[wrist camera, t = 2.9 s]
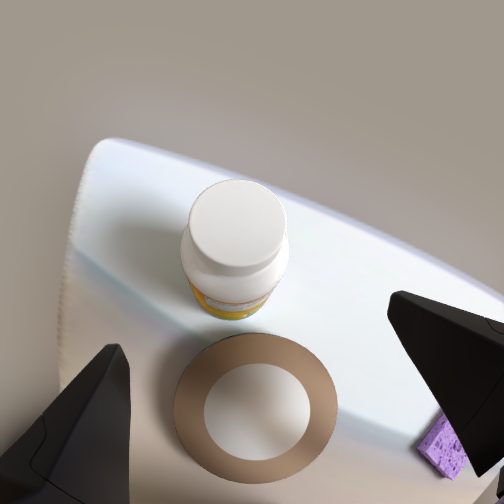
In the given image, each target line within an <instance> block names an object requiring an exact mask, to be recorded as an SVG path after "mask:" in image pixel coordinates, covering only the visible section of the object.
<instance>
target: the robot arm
mask: <svg viewBox="0 0 504 504" xmlns="http://www.w3.org/2000/svg"><path fill="white" fill-rule="evenodd" d="M387 316H388V319H389V321H390V323H391V325H392V326H393V328H394V330H395V332H396V334H397V336H398V338H399V340H400V341H401V343H402V345H403V347H404V349H405V351H406V352H407V354H408V356H409V357H410V359H411V360H412V362H413V363H414V365H415V366H416V368H417V370H418V371H419V373H420V374H421V376H422V377H423V379H424V381H425V382H426V384H427V386H428V387H429V389H430V390H431V392H432V394H433V395H434V397H435V399H436V400H437V402H438V404H439V406H440V407H441V409H442V411H443V412H444V414H445V416H446V418H447V419H448V421H449V423H450V425H451V426H452V428H453V430H454V432H455V434H456V436H457V438H458V440H459V441H460V443H461V445H462V447H463V449H464V451H465V453H466V455H467V457H468V459H469V461H470V463H471V465H472V467H473V469H474V471H475V473H476V475H477V476H478V478H479V477H481V476H482V475H483V474H484V473H486V472H487V471H488V470H489V469H491V468H492V467H493V466H494V465H495V464H497V463H498V462H499V461H500V460H501V459H502V458H503V457H504V323H502V322H498V321H495V320H492V319H489V318H486V317H485V318H484V317H483V316H480V315H477V314H474V313H471V312H468V311H464V310H461V309H458V308H455V307H452V306H449V305H446V304H443V303H440V302H437V301H434V300H431V299H428V298H424V297H421V296H418V295H415V294H412V293H409V292H406V291H397V292H394V293H392V295H391V297H390V302H389V306H388V311H387ZM130 419H131V400H130V368H129V363H128V361H127V359H126V356H125V354H124V352H123V350H122V348H121V346H120V345H119V344H117V343H116V344H107V345H106V346H105V347H104V348H103V349H102V350H101V351H100V352H99V353H98V354H97V355H96V356H95V357H94V358H93V359H92V360H91V361H90V362H89V363H88V364H87V365H86V366H85V368H84V369H83V370H82V371H81V372H80V373H79V374H78V375H77V376H76V377H75V378H74V379H73V380H72V381H71V382H70V384H69V385H68V386H67V387H66V388H65V389H64V390H63V391H62V392H61V393H60V394H59V396H58V397H57V398H56V399H55V400H54V401H53V402H52V403H51V404H50V406H49V407H48V408H47V409H46V410H45V411H44V412H43V415H41V416H40V417H39V418H38V419H37V420H36V421H35V422H34V424H33V425H32V426H31V427H30V428H29V429H28V430H27V431H26V432H25V433H24V434H23V435H22V436H21V437H20V438H19V439H18V440H17V441H16V442H15V443H14V444H13V445H12V446H11V447H10V448H9V449H8V450H7V451H6V452H5V453H4V454H3V455H2V456H1V457H0V504H130V501H129V439H130ZM496 495H497V497H498V498H499V500H498V501H497V502H496V503H495V504H504V465H503V466H502V467H501V469H500V475H499V482H498V488H497V494H496Z"/></svg>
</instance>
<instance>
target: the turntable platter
mask: <svg viewBox="0 0 504 504" xmlns="http://www.w3.org/2000/svg"><path fill="white" fill-rule="evenodd" d="M337 408H338V404H337V395H336V391H335V386H334V384H333V381H332V379H331V377H330V375H329V373H328V371H327V369H326V368H325V367H324V365H323V364H322V363H321V361H320V360H319V359H318V358H317V357H316V356H315V355H314V354H313V353H311V352H310V351H309V350H307V349H306V348H305V347H303V346H301V345H300V344H298V343H296V342H294V341H291V340H289V339H286V338H283V337H280V336H275V335H269V334H245V335H240V336H235V337H232V338H229V339H226V340H223V341H221V342H219V343H217V344H215V345H213V346H211V347H210V348H208V349H207V350H205V351H204V352H203V353H201V354H200V355H199V356H198V357H197V358H196V359H195V360H194V361H193V362H192V363H191V364H190V365H189V367H188V368H187V370H186V371H185V372H184V374H183V376H182V378H181V380H180V382H179V384H178V387H177V390H176V393H175V398H174V406H173V415H174V423H175V427H176V431H177V434H178V436H179V439H180V441H181V443H182V444H183V446H184V448H185V449H186V451H187V452H188V453H189V455H190V456H191V457H192V458H193V459H194V460H195V461H196V462H197V463H198V464H199V465H200V466H202V467H203V468H205V469H206V470H207V471H209V472H211V473H213V474H214V475H216V476H218V477H221V478H224V479H226V480H229V481H234V482H238V483H246V484H262V483H269V482H274V481H278V480H281V479H284V478H287V477H289V476H292V475H293V474H295V473H297V472H299V471H301V470H302V469H304V468H305V467H306V466H308V465H309V464H310V463H311V462H312V461H314V460H315V459H316V458H317V457H318V455H319V454H320V453H321V452H322V451H323V449H324V448H325V446H326V445H327V443H328V441H329V439H330V437H331V435H332V433H333V430H334V427H335V424H336V418H337Z"/></svg>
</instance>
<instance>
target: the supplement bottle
mask: <svg viewBox="0 0 504 504" xmlns="http://www.w3.org/2000/svg"><path fill="white" fill-rule="evenodd" d="M286 232H287V217H286V213H285V210H284V208H283V205H282V204H281V202H280V200H279V199H278V198H277V197H276V196H275V194H274V193H272V192H271V191H270V190H269V189H267V188H266V187H264V186H262V185H260V184H258V183H255V182H252V181H248V180H242V179H231V180H225V181H222V182H219V183H216V184H214V185H212V186H210V187H209V188H207V189H206V190H204V191H203V192H202V193H201V194H200V195H199V196H198V197H197V199H196V200H195V202H194V204H193V206H192V208H191V211H190V214H189V223H188V224H187V226H186V228H185V230H184V233H183V236H182V239H181V246H180V254H181V261H182V265H183V268H184V271H185V273H186V276H187V278H188V281H189V283H190V285H191V288H192V290H193V293H194V295H195V297H196V299H197V301H198V302H199V304H200V305H201V307H202V308H203V309H204V310H205V311H207V312H208V313H209V314H211V315H212V316H214V317H217V318H219V319H223V320H230V321H234V320H241V319H244V318H247V317H249V316H251V315H253V314H254V313H256V312H257V311H258V310H259V309H260V308H261V307H262V306H263V304H264V303H265V302H266V300H267V299H268V297H269V296H270V294H271V293H272V291H273V290H274V288H275V287H276V285H277V284H278V282H279V281H280V279H281V278H282V276H283V274H284V271H285V269H286V266H287V262H288V257H289V244H288V239H287V235H286Z"/></svg>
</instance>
